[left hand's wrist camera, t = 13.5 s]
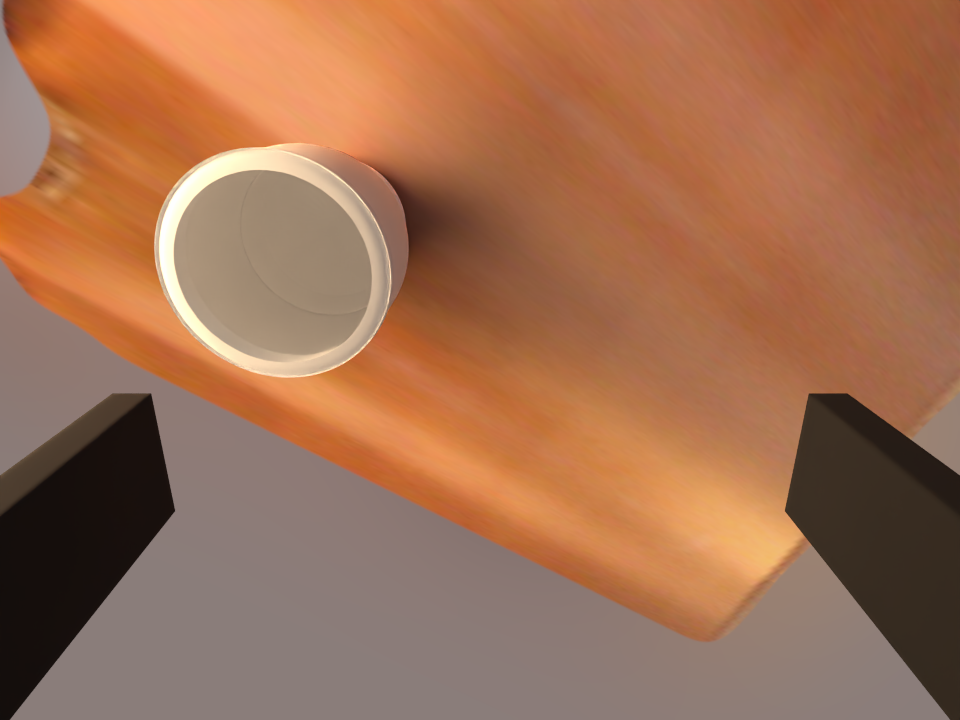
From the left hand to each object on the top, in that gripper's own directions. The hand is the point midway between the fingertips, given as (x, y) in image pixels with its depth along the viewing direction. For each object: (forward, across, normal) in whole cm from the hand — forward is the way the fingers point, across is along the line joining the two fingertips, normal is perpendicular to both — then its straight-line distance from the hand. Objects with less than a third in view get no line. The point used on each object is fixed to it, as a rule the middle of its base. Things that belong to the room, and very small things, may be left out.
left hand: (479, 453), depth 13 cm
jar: (+31, +9, 0) cm, 32 cm away
